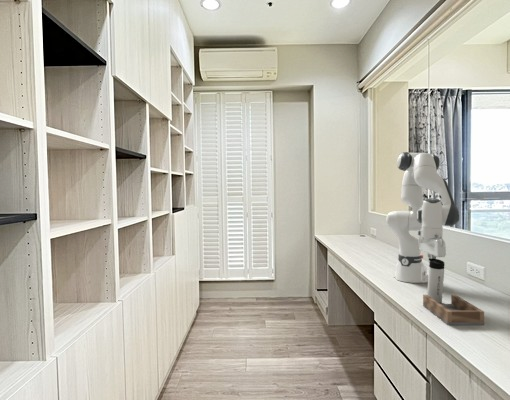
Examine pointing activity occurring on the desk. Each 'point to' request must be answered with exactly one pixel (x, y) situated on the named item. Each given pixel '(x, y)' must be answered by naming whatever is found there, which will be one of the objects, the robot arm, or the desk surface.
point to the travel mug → (436, 279)
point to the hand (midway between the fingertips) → (431, 263)
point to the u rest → (455, 311)
